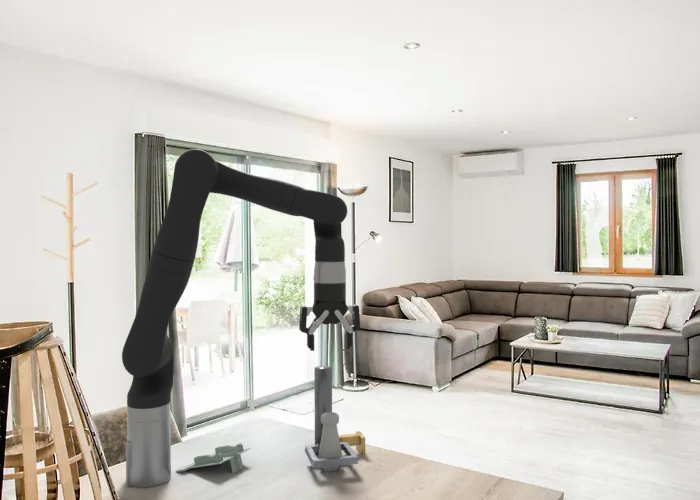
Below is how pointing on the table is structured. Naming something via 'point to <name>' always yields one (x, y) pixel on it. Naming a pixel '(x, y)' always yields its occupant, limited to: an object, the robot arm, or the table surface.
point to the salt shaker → (330, 439)
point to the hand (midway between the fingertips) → (329, 349)
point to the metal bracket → (220, 458)
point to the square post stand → (322, 406)
